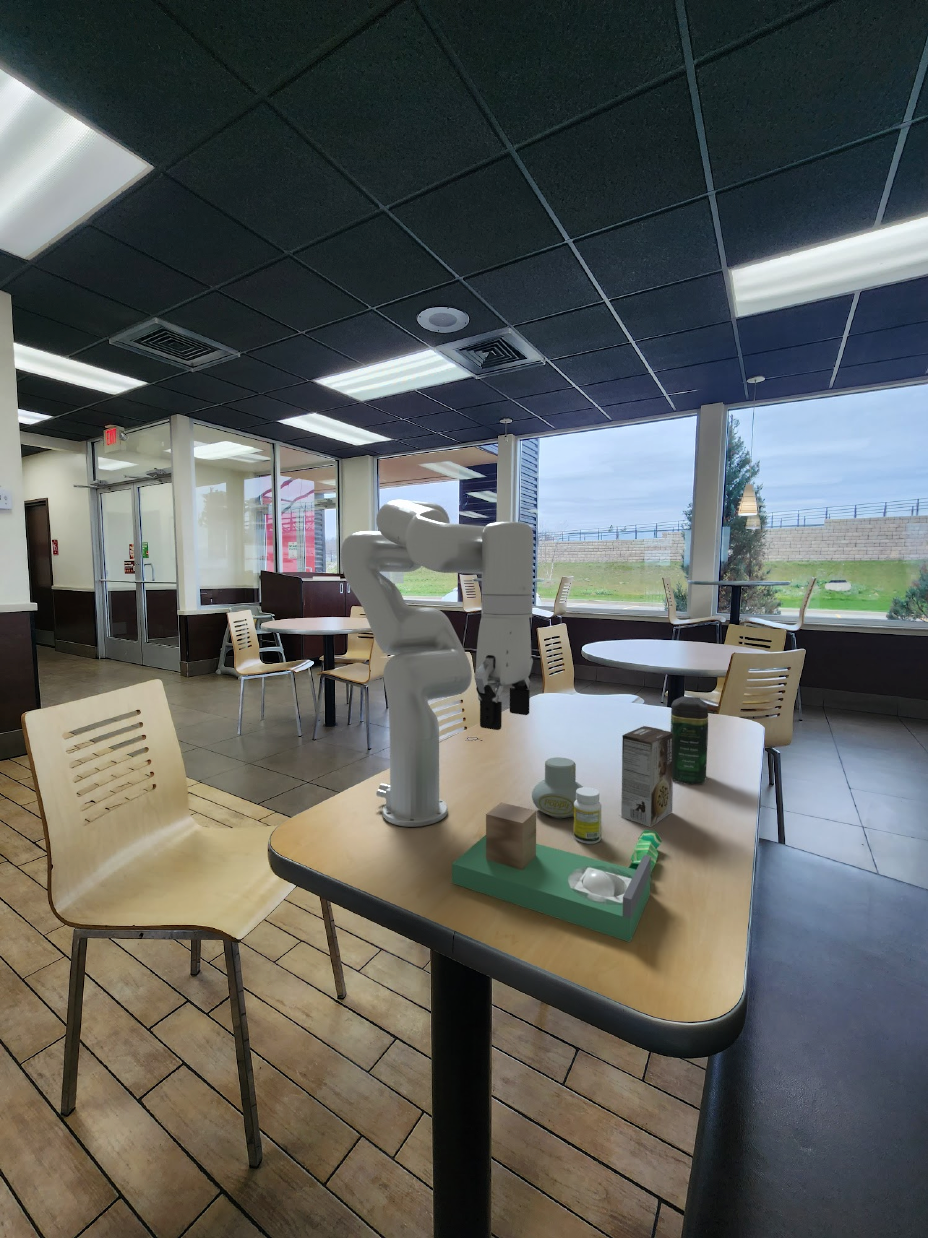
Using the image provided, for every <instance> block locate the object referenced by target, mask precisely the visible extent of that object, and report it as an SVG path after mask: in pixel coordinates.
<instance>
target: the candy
mask: <svg viewBox="0 0 928 1238" xmlns="http://www.w3.org/2000/svg"><path fill="white" fill-rule="evenodd" d="M637 839H638V841H637V843H636V845H635V846H634V848H633V851H632V854H631V855H630V861H631V863H630V865H629V866H628V867H627V868H631V869H635V870H637V867H638V865H639V863H640V861H641V859H642V857H643V855H646V856H650V857H651V872H652V871H653V869H654V868H655V865H656V863H657V860H658V855H659V852H658V851H657V849H658V848H659V847H660V845H661V843H662V842H663V840H662V838H661V837H660V836H659V834H658V832H657V831H655V830H648V829H647V830H645V829H644V830H643V831H642V832H641V834H640V836H639V837H638V838H637ZM652 877H653V876H652V874H651V878H652Z"/></svg>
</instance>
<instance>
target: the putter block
mask: <svg viewBox="0 0 928 1238" xmlns="http://www.w3.org/2000/svg"><path fill="white" fill-rule="evenodd" d="M485 835H486V860H490V861H493V862H496V863H500V864H503V865H507V866H510V867H513V868H517V869H520V870H523V869H524V868H525V867H526V866H527V865H528V864H529V862H530V861H531V860H532V859H533V858H534V857H535V856H536V844H537V810H536V809H532V808H531V809H530V808H526V807H523V806H517V805H514V804H509V803H505V802H500V803H498V804H497V805H496V806H495V807H493V808H492V809H491V810H489V811H488V812H487V813H485Z"/></svg>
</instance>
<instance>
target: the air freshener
mask: <svg viewBox="0 0 928 1238" xmlns="http://www.w3.org/2000/svg"><path fill="white" fill-rule="evenodd" d="M576 774H577V773H576V762H575V761H574V760H573V759H571V758H567V757H558V756H556V757H550V758H547V760H545V762H544V779H543V780H541V781H539V782H538V783H537V784H535V786H534V787H533V789H532V791H531V799H532V802H533V804H534V806H535V807H536V808H537V809H538V810H539V811H541V812H542V813H544V814H546V815H547V816H550V817H552V818H555V819H567V818H571V817H574V802H575V800H576V790H577V789H578V788H581V787H584V786H583V785H582V784H580V783H579V782H577V781H576V780H577V779H576V777H577V776H576Z"/></svg>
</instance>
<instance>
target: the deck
mask: <svg viewBox="0 0 928 1238" xmlns="http://www.w3.org/2000/svg"><path fill="white" fill-rule="evenodd" d="M592 871H602V872H604V873H606V874H607V875H608V876H609V877H610V878H611V879H612V881H613V884H614V888H615V893H614V897H603V896H600V895H596V894H593V893H591V892H590V891H588V890H587V889H585V888H584V887H583V884H582V882H583V879H584V877H585V876H586V875H587V874H588V873H589V872H592ZM651 875H652V871H651V857H650V856H646V855H643V857H642V859H641V861H640V863H639V865H638V867H637V870H635V869H631V868H628V867H627V866H623V865H619V864H615V863H613V862H608V861H605V860H599V859H596V858H593V857H589V856H585V855H581V854H577V853H573V852H569V851H566V850H562V849H559V848H558V849H557V848H555V847H550V846H548V845H543V844H540V843H536V856H535V857H534V858H533V859H532V860H531V861H530V862H529V864H528V865H527V866H526V867H525V868H524V869H523V870H520V869H517V868H513V867H510V866H507V865H503V864H500V863H496V862H493V861H490V860H486V834H485V835H484V836H482V837H481V838H480V839H479V840H478V841H476V842H475V843H474V844H473V845H472V846H471V847H470V848H468V849H467V850H466V851H465V852H464V853H462V855H460V856H459V857H458V858H457V859H455V861H453V862H452V863H451V883H452V884H453V885H457V886H461V887H463V888H465V889H469V890H472V891H474V892H478V893H481V894H484V895H487V896H490V897H492V898H493V897H494V898H495V899H499V900H502V901H505V902H508V903H510V904H514V905H517V906H521V907H523V908H526V909H529V910H531V911H535V912H539V913H541V914H544V915H547V916H550V917H553V918H556V919H560V920H562V921H565V922H569V923H571V924H574V925H577V926H580V927H583V928H586V929H589V930H591V931H596V932H599V933H601V934H605V935H606V936H607V935H608V936H610V937H613V938H617V939H619V940H622V941H625V942H629V943H632V942H631V941H632V938H633V936H634V934H635V932H636V930H637V927H638V924H639V922H640V920H641V917H642V915H643V912H644V910H645V907H646V905H647V903H648V901H649V897H650V895H651V878H652V877H651Z"/></svg>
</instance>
